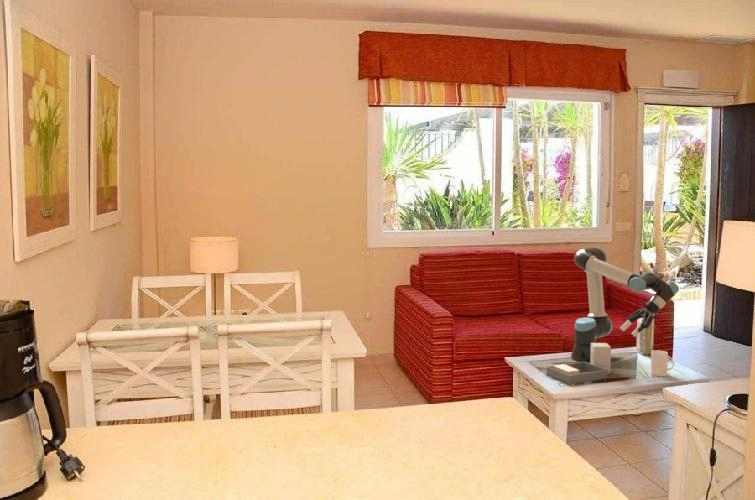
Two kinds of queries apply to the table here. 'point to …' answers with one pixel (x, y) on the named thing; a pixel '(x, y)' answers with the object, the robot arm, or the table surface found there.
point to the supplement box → (601, 356)
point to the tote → (585, 373)
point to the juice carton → (645, 338)
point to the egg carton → (566, 369)
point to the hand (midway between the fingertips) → (627, 332)
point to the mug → (659, 363)
